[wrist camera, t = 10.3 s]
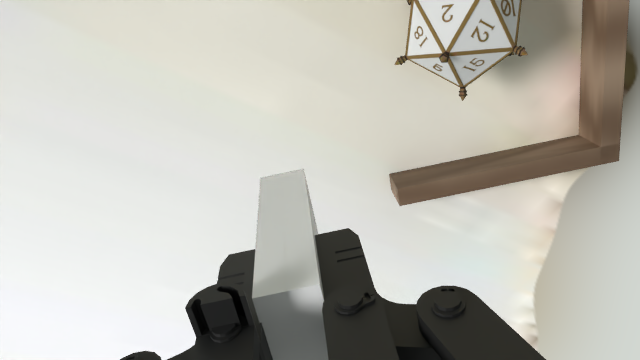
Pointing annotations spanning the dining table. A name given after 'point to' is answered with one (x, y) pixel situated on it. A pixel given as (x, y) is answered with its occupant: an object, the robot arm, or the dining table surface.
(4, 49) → the dining table surface
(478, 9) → the game die
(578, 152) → the brown wooden bar
